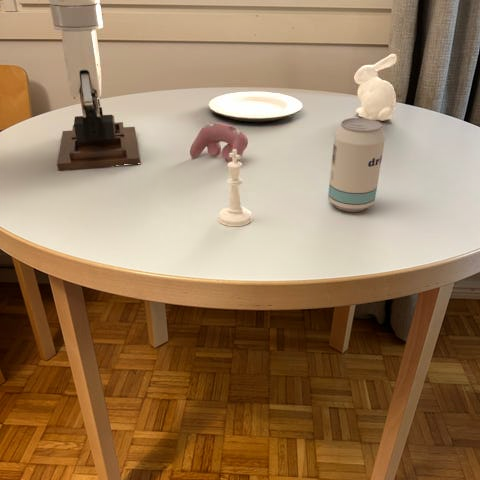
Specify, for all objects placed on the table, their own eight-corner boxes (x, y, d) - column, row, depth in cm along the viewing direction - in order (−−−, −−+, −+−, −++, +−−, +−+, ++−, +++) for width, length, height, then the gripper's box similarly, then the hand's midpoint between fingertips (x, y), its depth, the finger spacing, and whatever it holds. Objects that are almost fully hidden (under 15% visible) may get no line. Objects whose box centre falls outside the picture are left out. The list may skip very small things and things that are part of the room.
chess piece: (233, 208, 79) (233, 141, 73) (259, 218, 76) (260, 149, 70) (210, 219, 76) (208, 150, 70) (236, 230, 73) (236, 159, 67)
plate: (304, 101, 125) (304, 93, 124) (298, 129, 109) (299, 119, 108) (217, 97, 128) (217, 89, 127) (199, 124, 111) (199, 114, 110)
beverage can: (364, 219, 76) (378, 135, 69) (320, 208, 79) (328, 126, 71) (379, 201, 81) (393, 121, 74) (336, 192, 84) (346, 113, 76)
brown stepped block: (58, 170, 90) (53, 146, 88) (63, 137, 104) (59, 115, 102) (140, 164, 93) (138, 140, 90) (135, 132, 107) (132, 111, 104)
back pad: (76, 141, 91) (73, 124, 89) (77, 133, 94) (74, 116, 93) (115, 139, 92) (112, 121, 90) (114, 131, 95) (112, 114, 94)
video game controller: (244, 171, 94) (254, 131, 93) (231, 167, 90) (241, 125, 89) (200, 160, 99) (209, 121, 97) (186, 155, 95) (195, 115, 93)
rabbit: (345, 110, 120) (352, 52, 113) (382, 106, 122) (391, 49, 115) (372, 126, 111) (382, 63, 103) (411, 122, 113) (423, 60, 106)
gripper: (55, 10, 88) (75, 122, 99) (48, 26, 75) (71, 153, 86) (101, 9, 89) (116, 120, 100) (102, 24, 76) (118, 150, 87)
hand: (95, 134), depth 93 cm, fingers closed on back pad, 4 cm apart
